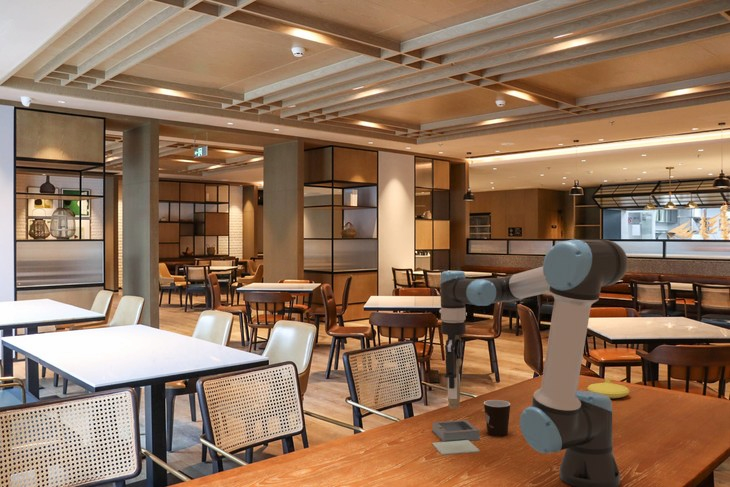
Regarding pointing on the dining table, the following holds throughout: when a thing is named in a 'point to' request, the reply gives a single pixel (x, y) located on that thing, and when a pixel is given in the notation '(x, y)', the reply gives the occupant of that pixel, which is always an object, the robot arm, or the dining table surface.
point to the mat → (455, 447)
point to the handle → (455, 402)
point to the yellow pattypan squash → (609, 389)
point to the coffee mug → (497, 417)
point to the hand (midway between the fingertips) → (454, 396)
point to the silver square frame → (456, 430)
